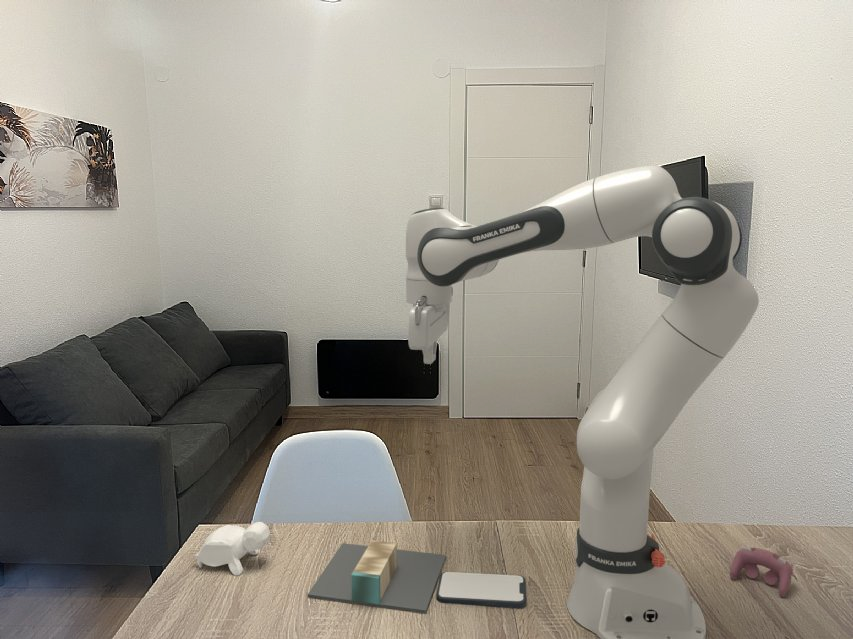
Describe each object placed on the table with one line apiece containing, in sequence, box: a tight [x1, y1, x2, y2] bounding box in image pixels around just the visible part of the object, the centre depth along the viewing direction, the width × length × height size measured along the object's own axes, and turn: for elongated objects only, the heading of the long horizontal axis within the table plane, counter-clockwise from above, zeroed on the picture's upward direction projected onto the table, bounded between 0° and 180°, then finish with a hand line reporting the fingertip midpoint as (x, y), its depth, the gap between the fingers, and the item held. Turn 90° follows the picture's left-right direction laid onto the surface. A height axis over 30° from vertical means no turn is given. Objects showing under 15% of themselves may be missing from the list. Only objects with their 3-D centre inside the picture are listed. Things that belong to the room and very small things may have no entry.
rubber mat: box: [307, 542, 447, 614], centre depth 121 cm, size 22×18×1 cm
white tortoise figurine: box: [193, 521, 271, 577], centre depth 125 cm, size 9×8×15 cm
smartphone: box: [435, 571, 527, 609], centre depth 116 cm, size 9×2×16 cm
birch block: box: [351, 539, 398, 604], centre depth 117 cm, size 5×5×12 cm
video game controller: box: [729, 547, 794, 598], centre depth 117 cm, size 10×5×7 cm, turn 48°
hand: (429, 362), depth 125 cm, fingers closed
